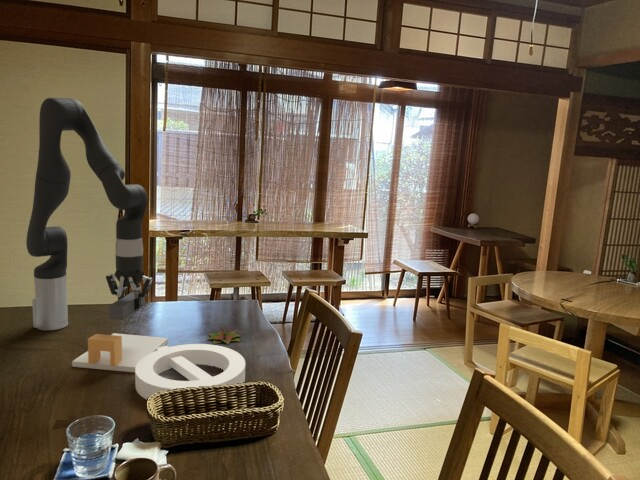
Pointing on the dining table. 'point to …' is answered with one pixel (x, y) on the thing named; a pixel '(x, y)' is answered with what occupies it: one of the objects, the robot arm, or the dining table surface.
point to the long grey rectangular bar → (124, 307)
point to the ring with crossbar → (188, 367)
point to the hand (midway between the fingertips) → (129, 308)
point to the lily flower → (228, 335)
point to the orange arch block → (105, 348)
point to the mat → (124, 353)
